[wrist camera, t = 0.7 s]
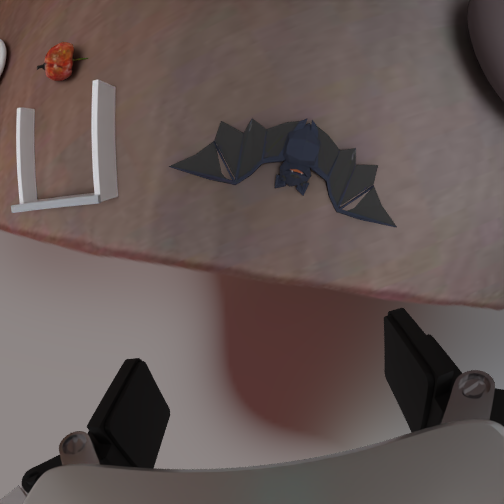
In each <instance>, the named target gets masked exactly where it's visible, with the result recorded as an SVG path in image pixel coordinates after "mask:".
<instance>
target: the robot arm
mask: <svg viewBox="0 0 504 504" xmlns="http://www.w3.org/2000/svg"><path fill="white" fill-rule="evenodd" d="M384 336H385V337H384V338H385V339H384V340H385V341H384V342H385V377H386V379H387V382H388V383H389V386H390V388H391V390H392V392H393V394H394V396H395V398H396V400H397V402H398V404H399V406H400V408H401V410H402V412H403V415H404V416H405V419H406V421H407V423H408V425H409V428H410V430H411V432H412V433H409V434H406V435H403V436H399V437H396V438H393V439H389V440H386V441H383V442H379V443H375V444H372V445H367V446H364V447H360V448H356V449H352V450H348V451H343V452H339V453H335V454H330V455H325V456H320V457H315V458H309V459H304V460H297V461H291V462H284V463H277V464H269V465H260V466H250V467H238V468H221V469H153V468H154V465H155V462H156V458H157V455H158V452H159V449H160V446H161V442H162V439H163V436H164V433H165V430H166V427H167V423H168V420H169V417H170V409H169V407H168V405H167V403H166V402H165V400H164V398H163V396H162V394H161V392H160V390H159V388H158V386H157V384H156V382H155V380H154V379H153V377H152V374H151V372H150V371H149V369H148V366H147V364H146V363H145V362H144V361H142V360H141V359H139V358H135V359H127V360H125V362H124V363H123V365H122V366H121V368H120V370H119V371H118V373H117V375H116V376H115V378H114V380H113V382H112V383H111V385H110V387H109V388H108V390H107V392H106V393H105V395H104V397H103V399H102V400H101V402H100V404H99V406H98V407H97V409H96V411H95V413H94V414H93V416H92V418H91V420H90V421H89V423H88V425H87V428H88V429H89V432H88V434H87V433H85V432H82V431H76V432H73V433H70V434H69V435H67V436H66V437H65V438H63V440H62V441H61V443H60V445H59V453H60V455H58V456H56V457H54V458H52V459H50V460H48V461H46V462H44V463H42V464H40V465H38V466H36V467H34V468H32V469H30V470H29V471H27V472H26V473H25V475H24V476H23V479H22V487H20V486H19V485H18V486H17V487H16V488H14V489H13V490H12V491H11V492H9V493H8V494H7V495H6V496H4V497H3V498H2V499H1V500H0V504H504V390H501V389H496V388H495V382H494V380H493V378H492V377H491V376H490V375H489V374H487V373H485V372H483V371H478V370H471V371H467V372H465V373H463V374H462V372H461V371H460V370H459V369H458V367H457V366H456V365H455V363H454V362H453V361H452V360H451V358H450V357H449V356H448V355H447V353H446V352H445V351H444V350H443V349H442V347H441V346H440V345H439V344H438V343H437V341H436V340H435V339H434V338H433V337H432V336H431V335H429V334H428V335H426V334H425V333H424V332H423V331H422V329H421V328H420V327H419V326H418V325H417V323H416V322H415V321H414V320H413V319H412V317H411V316H410V315H409V314H408V313H407V312H406V310H405V309H404V308H400V309H396V310H393V311H389V312H388V316H385V317H384Z"/></svg>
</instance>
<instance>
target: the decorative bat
mask: <svg viewBox="0 0 504 504" xmlns="http://www.w3.org/2000/svg"><path fill="white" fill-rule="evenodd" d="M306 121H307V119H305V120H302V121H297V122H287V123H283V124H280V125H278V126H275V127H272V128H269V129H265V128H264V127H263V126H261V125H260V124H259V123H258V122H256V121H255V120H254V119H252V120H251V121H250V123H249V125H248V127H247V129H246V130H245V132H244V133H242V132H240V131H239V130H237V129H235V128H233V127H232V126H230V125H228V124H226V123H224V122H222V121H221V123H220V126H219V129H218V132H217V135H216V138H215V141H213V142H212V143H211V144H209V145H208V146H207V147H205V148H204V149H203V150H201V151H200V152H199V153H197V154H196V155H194V156H192V157H189V158H187V159H185V160H183V161H180V162H178V163H176V164H174V165H171V166H169V167H171V168H175V169H178V170H181V171H184V172H187V173H191V174H194V175H197V176H200V177H203V178H206V179H209V180H214V181H219V182H224V183H229V184H233V185H236V184H238V183H240V182H241V181H243V180H244V179H246V178H247V177H249V176H250V175H252V174H253V173H254V172H255V171H256V169H257V168H258V167H259V166H260V165H261V164H263V163H270V162H282V161H284V160H285V161H284V162H283V164H282V165H281V166H280V175H276V182H275V188H278V187H283V186H286V184H287V185H289V186H295V185H297V187H296V189H297V190H298V191H299V192H300V193H301V194H302V195H303V196H304V193H305V191H306V189H307V187H308V185H309V183H307V181H308V179H309V178H310V176H311V172H310V167H311V168H312V170H313V171H314V172H315V173H317V174H318V175H319V176H321V177H322V178H323V179H325V180H326V183H327V189H328V194H329V197H330V199H331V202H332V204H333V206H334V208H335V210H336V212H338V213H342V214H345V215H348V216H351V217H354V218H357V219H360V220H364V221H369V222H374V223H379V224H383V225H388V226H393V227H397V226H396V225H395V224H394V222H393V221H392V219H391V218H390V216H389V215H388V214H387V212H386V211H385V210H384V208H383V207H382V205H381V203H380V200H379V198H378V195H377V193H376V190H375V188H374V185H373V184H374V180H375V176H376V172H377V168H378V165H355V162H356V148H355V149H348V150H341V151H340V150H339V149H338V147H337V146H336V145H335V143H334V142H333V141H332V140H331V138H330V137H329V136H328V135H327V134H326V133H325V132H324V131H322V130H321V129H320V128H319V127H317V126H316V124H315V123H314V122H313V120H312V124H311V125H310V123H309V124H306ZM305 124H306V125H305ZM215 142H216V143H215ZM216 144H217V145H216ZM217 146H218V147H217ZM218 148H219V149H218ZM216 149H217V150H216ZM219 150H220V151H221V153H222V155H223V157H224V159H225V161H226V162H227V164H228V166H229V168H230V170H231V171H232V173H233V175H234V176H235V180H234V178H233V176H232V175H231V173H230V171H229V169H228V167H227V165H226V163H225V161H224V159H223V157H222V155H221V153H220V151H219ZM217 151H218V153H219V155H220V156H221V158H222V160H223V162H224V164H225V166H226V168H227V170H228V172H229V174H230V176H231V178H232V180H229V179H226V178H225V177H224V175H223V174H222V173H221V168H220V164H219V159H218V155H217ZM371 185H372V186H371ZM370 186H371V187H370ZM368 187H369V188H368ZM367 188H368V189H367ZM365 189H367V190H365ZM370 189H371V190H370ZM364 190H365V191H364ZM369 190H370V191H369ZM362 191H364V192H363V193H361V192H362ZM367 191H369V192H368V193H367V194H366V195H365V196H364V198H363V199H362V200H361V201H360V202H359V203H358V204H357V206H356V207H355V208H353V209H351V210H348V211H345V210H341V209H342V208H344V207H345V206H347V205H348V204H350V203H351V202H353V201H354V200H356V199H357V198H359V197H360V196H362V195H363V194H364V193H366V192H367ZM359 193H361V194H360V195H358V194H359ZM356 195H358V196H357V197H356V198H354V199H353V200H351V201H350V202H349V203H347V204H346V205H344V206H343V207H341V208H339V207H340V205H342V204H344V203H345V202H347V201H348V200H350V199H351V198H353V197H354V196H356Z"/></svg>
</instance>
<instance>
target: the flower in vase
mask: <svg viewBox="0 0 504 504" xmlns="http://www.w3.org/2000/svg"><path fill="white" fill-rule="evenodd" d="M6 54H7V53H6V47H5V44H4V42H3V41H2V40H1V39H0V76H1V74H2V72H3V69H4V66H5V62H6Z"/></svg>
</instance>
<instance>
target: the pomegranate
mask: <svg viewBox="0 0 504 504" xmlns="http://www.w3.org/2000/svg"><path fill="white" fill-rule="evenodd" d="M73 52H74V47H73V45H72V44H70V43H67V42H62V43H59V44H57V45H55V46H54V47H52V48H51V49H50V50H49V51H48V53H47V54H46V56H45V62H44V64H43V65H40V66H37V70H38V69H39V68H43V69H44V70H45V71H46V76H47V77H48V78H50V79H52V80H54V81H62V80H64V79H66V78H68V77H69V76H70V75H71V74H72V65H73V61H78V60H82V59H88V58H79V59H72V58H73Z"/></svg>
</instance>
